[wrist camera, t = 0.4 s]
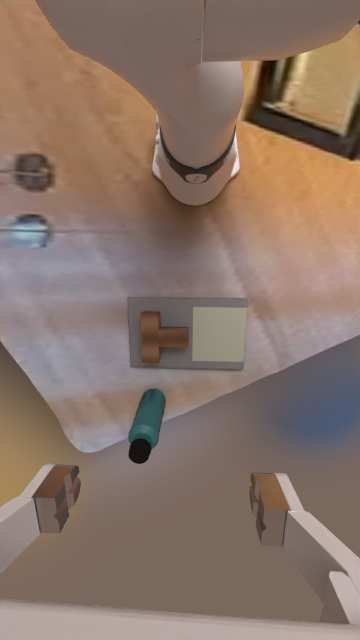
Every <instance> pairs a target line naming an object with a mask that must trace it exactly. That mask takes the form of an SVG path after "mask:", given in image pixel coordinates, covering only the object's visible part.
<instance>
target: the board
mask: <svg viewBox="0 0 360 640" xmlns="http://www.w3.org/2000/svg"><path fill="white" fill-rule="evenodd" d="M247 307H248V299H237V298H128V315H129V336H130V357H131V367H162V368H203V369H243V364H244V349H245V334H246V320H247ZM144 310H153V311H160V312H161V326H166V327H189V347H188V348H182V347H161V359H160V361H159V363H142V338H141V313H142V312H143V311H144Z"/></svg>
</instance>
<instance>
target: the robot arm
mask: <svg viewBox="0 0 360 640" xmlns="http://www.w3.org/2000/svg"><path fill="white" fill-rule="evenodd" d="M36 2H37V4H38V6H39V8H40V9H41V11H42V12H43V14H44V16H45V17H46V19H47V20H48V22H49V23H50V25H51V26H52V27H53V29H54V30H55V31H56V33H57V34H58V35H59V36H60V38H61V39H62V40H63V41H64V42H65V43H66V44H67V46H68V47H69V48H70V49H72V50H73V51H75V52H77V53H79V54H81V55H84V56H86V57H88V58H90V59H92V60H94V61H96V62H98V63H100V64H102V65H104V66H105V67H107V68H108V69H110V70H112V71H113V72H115V73H116V74H117V75H119V76H120V77H122V78H123V79H124V80H125V81H127V82H128V83H129V84H130V85H132V86H133V87H134V88H135V89H136V90H137V91H138V92H139V93H140V94H141V95H142V96H143V97H144V98H145V99H146V100H147V101H148V102H149V103H150V104H151V105H152V107H153V108H154V109H155V111H156V127H157V128H158V132H157V135H156V139H155V142H156V145H155V151H154V158H153V165H152V172H153V174H154V176H155V177H156V178H158V179H159V180H160V181H162V182H163V183H164V184H165V186H166V187H167V189H168V191H169V192H170V193H171V195H172V196H173V197H174V198H175V199H177V200H178V201H180V202H182V203H184V204H187V205H202V204H205V203H207V202H209V201H211V200H213V199H214V198H215V197H216V196H217V195H218V194H219V193H220V192H221V191H222V189H223V188H224V186H225V184H226V183H227V182H228V181H229V180H230V179H232V178H233V177H234V176H236V175H237V174H238V172H239V169H240V163H239V155H238V146H237V138H236V121H237V118H238V114H239V111H240V107H241V104H242V100H243V93H244V77H243V70H242V66H241V63H240V61H263V60H280V59H284V58H287V57H291V56H294V55H298V54H301V53H305V52H308V51H311V50H314V49H317V48H320V47H323V46H326V45H328V44H331V43H334V42H337V41H339V40H340V39H342V38H343V37H344V36H345V35H346V34H347V33H348V32H349V31H350V30H351V29H352V28H353V27H354V26H355V25H356V24H357V23H358V22H359V20H360V0H36ZM157 163H158V165H157ZM78 473H79V467H78V466H76V465H61V464H45V465H44V466H43V467H42V468H41V469H40V470H39V472H38V473H37V474H36V476H35V477H34V478H33V479H32V481H31V482H30V483H29V485H28V486H27V487H26V488H25V490H24V491H23V493H22V494H21V495H20V496H19V497H15V498H14V499H12V500H11V501H9V502H8V503H6V504H5V505H3V506H2V507H0V573H1V572H2V571H3V570H4V569H5V568H6V567H7V566H8V565H9V564H10V563H11V562H12V561H13V560H14V559H15V558H16V557H17V556H19V555H20V554H21V553H22V551H24V550H25V549H26V548H27V547H28V546H29V545H30V544H31V543H32V542H33V541H34V540H35V539H36V538H37V537H38V536H39V535H40V533H60V532H61V531H62V529H63V526H64V524H65V523H66V521H67V519H68V517H69V512H68V510H69V509H70V508H71V507H72V506H74V505H75V503H76V501H77V498H78V495H79V492H80V486H81V483H80V479H79V478H78V477H77V475H78ZM251 483H252V486H251V487H250V503H251V509H252V512H253V515H254V516H255V517H256V528H257V531H258V535H259V539H260V543H261V545H268V546H269V545H270V546H280V547H283V549H284V551H285V552H286V553H287V555H288V556H289V557H290V558H291V560H292V561H293V563H294V564H295V565H296V567H297V568H298V570H299V571H300V572H301V574H302V575H303V576H304V578H305V579H306V580H307V582H308V583H309V584H310V586H311V587H312V588H313V590H314V591H315V592H316V594H317V595H318V596H319V598H320V599H321V600H322V602H323V608H322V613H321V618H320V622H311V621H299V620H298V621H297V620H285V619H284V620H283V619H271V618H256V617H243V616H230V615H216V614H203V613H189V612H176V611H162V610H148V609H134V608H119V607H105V606H92V605H78V604H64V603H51V602H38V601H37V602H36V601H24V600H10V599H0V640H360V559H359V558H358V557H357V556H356V555H355V554H354V553H353V552H352V551H351V550H350V549H349V548H347V547H346V546H345V545H344V544H343V543H342V542H341V541H340V540H339V539H337V538H336V537H335V536H334V535H333V534H332V533H331V532H330V531H329V530H328V529H326V527H324V526H323V525H322V524H321V523H320V522H319V521H318V520H317V519H316V518H315V517H314V516H312V515H311V514H310V513H309V512H305V511H304V509H303V507H302V505H301V503H300V501H299V499H298V497H297V494H296V492H295V490H294V488H293V486H292V484H291V482H290V480H289V478H288V476H287V475H286V474H281V473H280V474H279V473H274V474H273V473H252V474H251Z"/></svg>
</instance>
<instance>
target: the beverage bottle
mask: <svg viewBox="0 0 360 640" xmlns="http://www.w3.org/2000/svg"><path fill="white" fill-rule="evenodd" d="M164 408H165V396H164V394H163V393H162V392H161V391H160V390H157V389H150V390H147V391H146V392H145V393H144V395H143V397H142V399H141V401H140V405H139V408H138V410H137V413H136V416H135V418H134V419H133V420H134V422H133V424H132V427H131V430H130V432H129V436H128V437H129V442H130V443H131V445H130V449H129V458H130V459H131V461H133V462H134V463H138V464H141V463H144V462H146V461H147V460H148V458H149V455H150V453H151V449H152V448H154V447H155V446H156V445H157V443H158V439H159V432H160V427H161V422H162V418H163V414H164Z"/></svg>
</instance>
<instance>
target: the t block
mask: <svg viewBox="0 0 360 640" xmlns="http://www.w3.org/2000/svg"><path fill="white" fill-rule="evenodd" d="M141 338H142V363H159V361H160V359H161V347H182V348H188V347H189V327H166V326H161V312H160V311H153V310H144V311H143V312H142V313H141Z"/></svg>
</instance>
